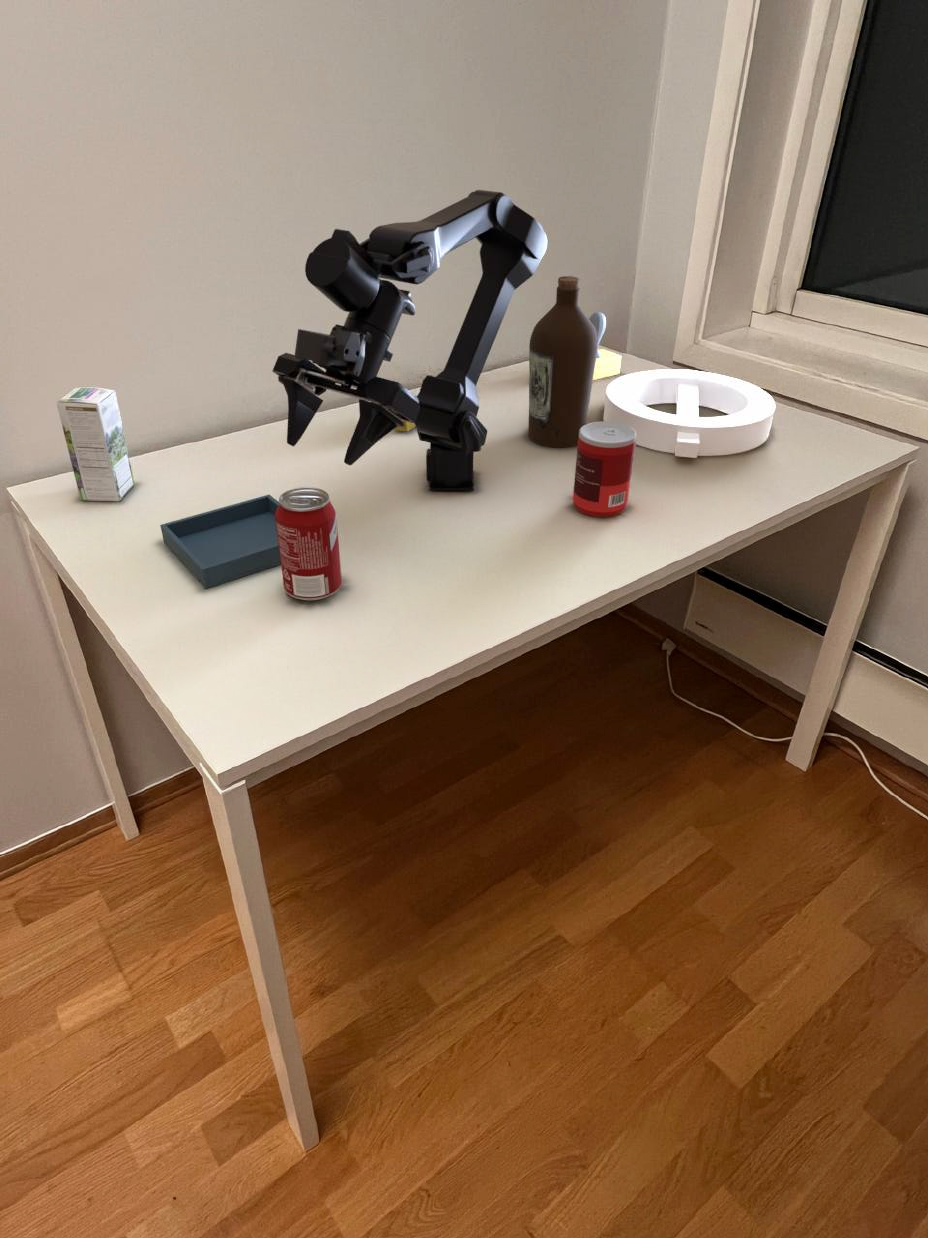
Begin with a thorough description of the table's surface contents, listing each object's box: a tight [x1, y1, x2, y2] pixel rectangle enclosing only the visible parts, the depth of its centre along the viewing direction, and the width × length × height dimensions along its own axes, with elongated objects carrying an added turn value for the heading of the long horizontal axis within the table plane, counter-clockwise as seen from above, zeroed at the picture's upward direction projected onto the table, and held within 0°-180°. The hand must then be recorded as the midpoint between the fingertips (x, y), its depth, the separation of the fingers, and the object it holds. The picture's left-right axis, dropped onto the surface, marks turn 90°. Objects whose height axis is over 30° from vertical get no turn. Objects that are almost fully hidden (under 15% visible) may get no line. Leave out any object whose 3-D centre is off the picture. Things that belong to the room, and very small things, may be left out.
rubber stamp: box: [588, 311, 622, 381], centre depth 162 cm, size 10×6×12 cm, turn 126°
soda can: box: [275, 486, 343, 602], centre depth 96 cm, size 7×7×12 cm
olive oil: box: [527, 275, 599, 448], centre depth 132 cm, size 11×11×25 cm
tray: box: [159, 494, 281, 590], centre depth 107 cm, size 15×14×3 cm
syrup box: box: [56, 386, 135, 502], centre depth 116 cm, size 6×6×14 cm
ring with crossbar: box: [602, 368, 776, 459], centre depth 144 cm, size 28×28×5 cm
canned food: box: [572, 420, 637, 518], centre depth 116 cm, size 8×8×11 cm
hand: (318, 454), depth 99 cm, fingers open, 9 cm apart
